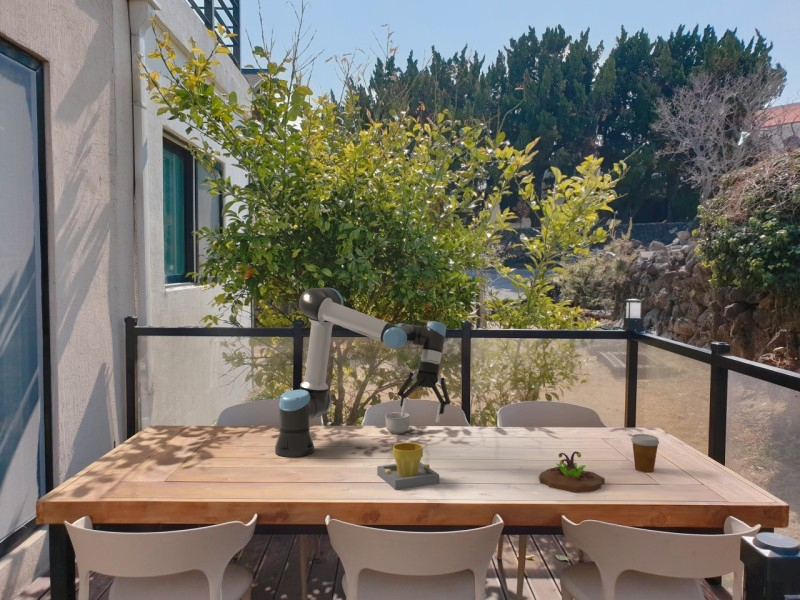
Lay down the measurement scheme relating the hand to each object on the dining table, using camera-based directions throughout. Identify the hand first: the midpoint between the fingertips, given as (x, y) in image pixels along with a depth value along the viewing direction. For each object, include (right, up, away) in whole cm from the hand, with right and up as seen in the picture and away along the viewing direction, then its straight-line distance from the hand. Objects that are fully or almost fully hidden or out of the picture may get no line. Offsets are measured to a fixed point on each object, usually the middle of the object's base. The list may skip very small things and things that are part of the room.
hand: (419, 419), depth 225 cm
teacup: (-9, -15, +48) cm, 51 cm away
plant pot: (-5, -16, -16) cm, 23 cm away
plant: (+51, -19, -17) cm, 57 cm away
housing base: (-5, -17, -16) cm, 24 cm away
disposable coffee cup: (+82, -18, -3) cm, 83 cm away
